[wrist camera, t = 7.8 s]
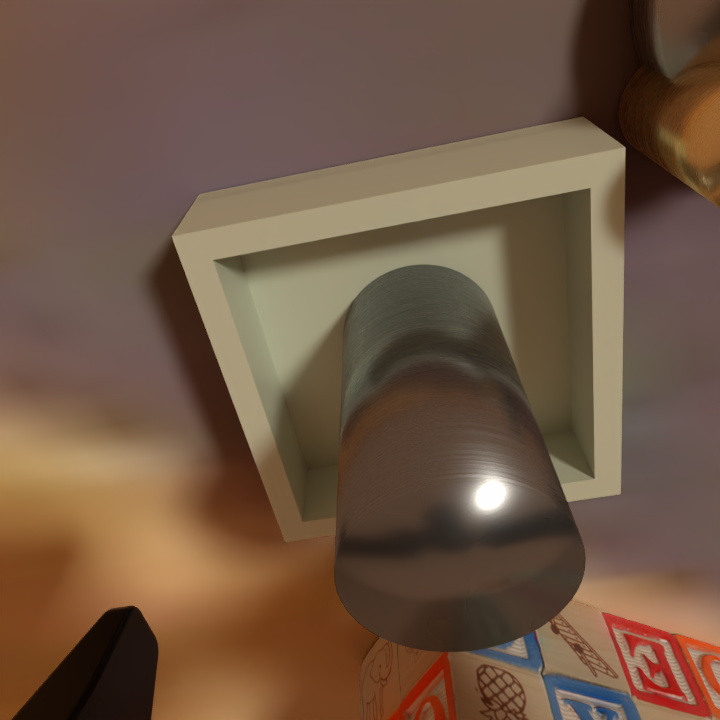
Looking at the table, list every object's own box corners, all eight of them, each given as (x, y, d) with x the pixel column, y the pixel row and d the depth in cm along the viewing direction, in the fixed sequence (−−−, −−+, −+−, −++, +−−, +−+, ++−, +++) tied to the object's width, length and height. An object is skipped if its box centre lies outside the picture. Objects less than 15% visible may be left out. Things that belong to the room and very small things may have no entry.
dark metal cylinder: (502, 385, 16) (587, 636, 10) (359, 408, 17) (361, 664, 11) (488, 250, 14) (583, 462, 8) (328, 280, 15) (308, 503, 9)
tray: (588, 428, 18) (620, 493, 16) (293, 474, 18) (284, 542, 16) (583, 116, 13) (625, 147, 11) (199, 194, 14) (171, 236, 12)
